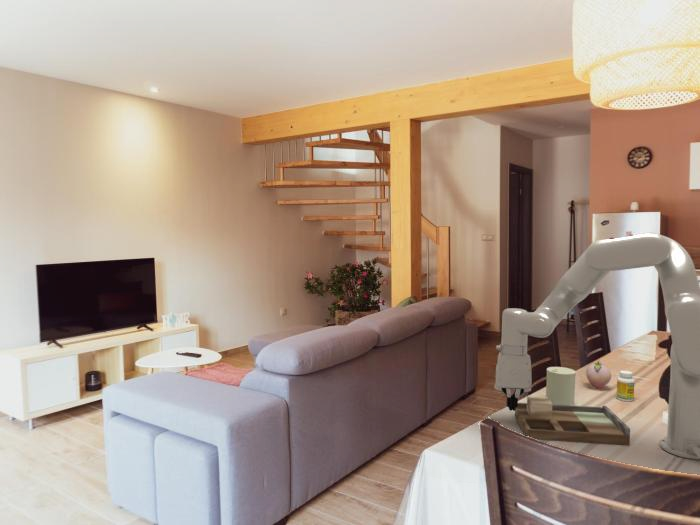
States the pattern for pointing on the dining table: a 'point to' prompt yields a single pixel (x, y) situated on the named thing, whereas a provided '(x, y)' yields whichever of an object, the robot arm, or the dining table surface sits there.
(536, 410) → the block
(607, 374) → the decorative fruit
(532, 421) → the brown wooden tray
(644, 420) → the dining table surface
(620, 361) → the dining table surface
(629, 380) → the supplement bottle
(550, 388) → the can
